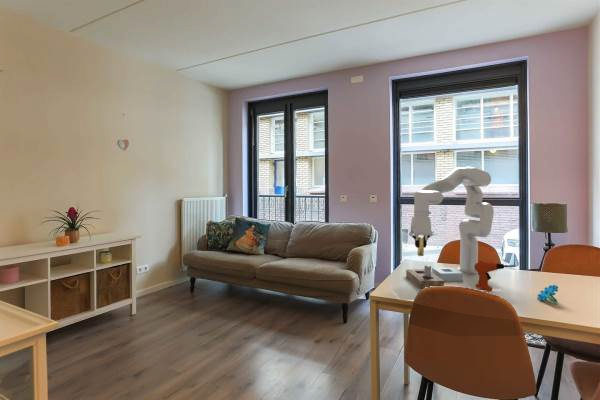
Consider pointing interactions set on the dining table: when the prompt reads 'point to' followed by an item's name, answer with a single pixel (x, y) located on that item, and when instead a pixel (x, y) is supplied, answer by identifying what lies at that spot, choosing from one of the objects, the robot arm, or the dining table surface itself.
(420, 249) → the gold drill bit
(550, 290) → the blue flower bunch
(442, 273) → the socket block
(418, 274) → the bit rack
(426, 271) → the steel drill bit
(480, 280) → the toy drill
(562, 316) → the dining table surface
